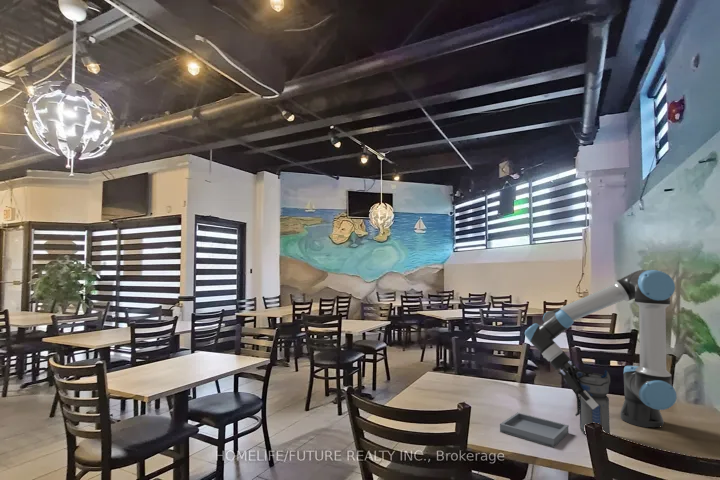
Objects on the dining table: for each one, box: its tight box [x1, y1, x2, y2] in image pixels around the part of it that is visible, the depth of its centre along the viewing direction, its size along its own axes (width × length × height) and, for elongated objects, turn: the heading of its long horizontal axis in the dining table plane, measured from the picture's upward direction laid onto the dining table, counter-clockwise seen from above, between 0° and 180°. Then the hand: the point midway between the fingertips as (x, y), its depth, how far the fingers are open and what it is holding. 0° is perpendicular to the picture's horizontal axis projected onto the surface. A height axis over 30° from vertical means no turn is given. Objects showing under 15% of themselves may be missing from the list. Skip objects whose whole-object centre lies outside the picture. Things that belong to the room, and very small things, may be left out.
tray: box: [499, 412, 569, 449], centre depth 158 cm, size 20×18×3 cm
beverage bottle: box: [573, 368, 611, 435], centre depth 158 cm, size 10×13×25 cm
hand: (599, 403), depth 156 cm, fingers open, 11 cm apart
